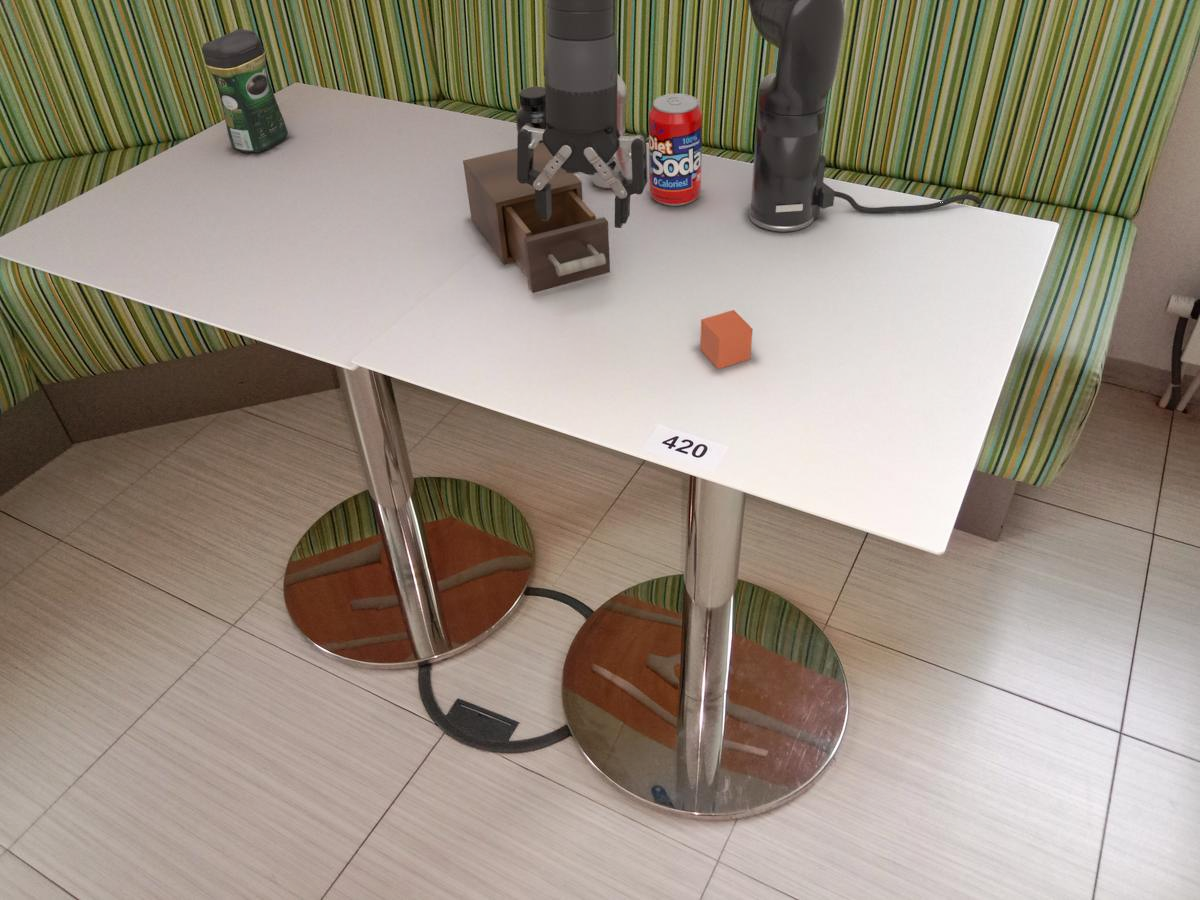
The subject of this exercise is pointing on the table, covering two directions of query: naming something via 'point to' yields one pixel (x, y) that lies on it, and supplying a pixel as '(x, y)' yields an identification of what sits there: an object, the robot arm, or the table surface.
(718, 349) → the block
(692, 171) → the soda can
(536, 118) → the supplement bottle
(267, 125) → the coffee jar
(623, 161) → the silver metal bottle
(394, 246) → the table surface
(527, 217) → the drawer
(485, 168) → the cabinet
